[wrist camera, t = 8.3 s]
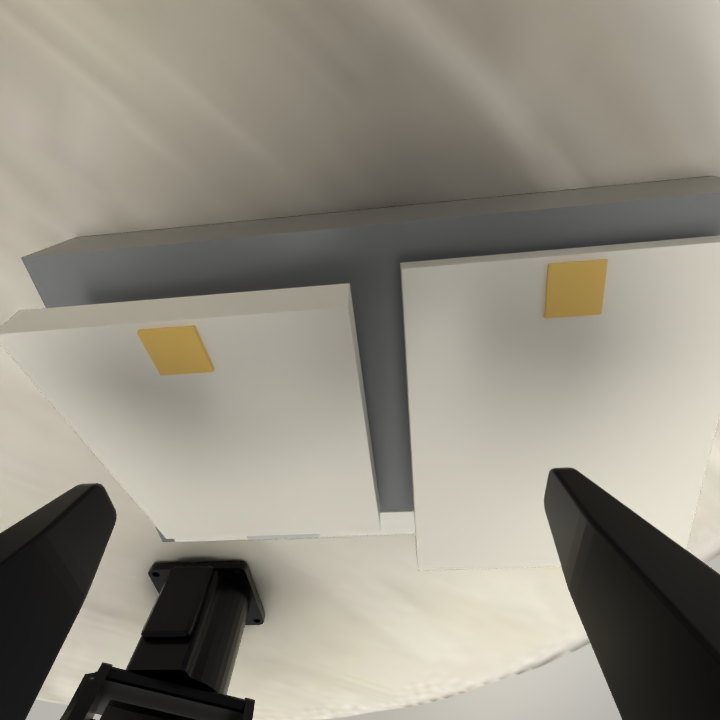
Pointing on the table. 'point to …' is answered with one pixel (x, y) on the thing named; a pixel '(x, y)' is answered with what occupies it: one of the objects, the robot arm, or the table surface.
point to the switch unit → (367, 276)
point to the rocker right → (557, 390)
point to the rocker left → (216, 406)
